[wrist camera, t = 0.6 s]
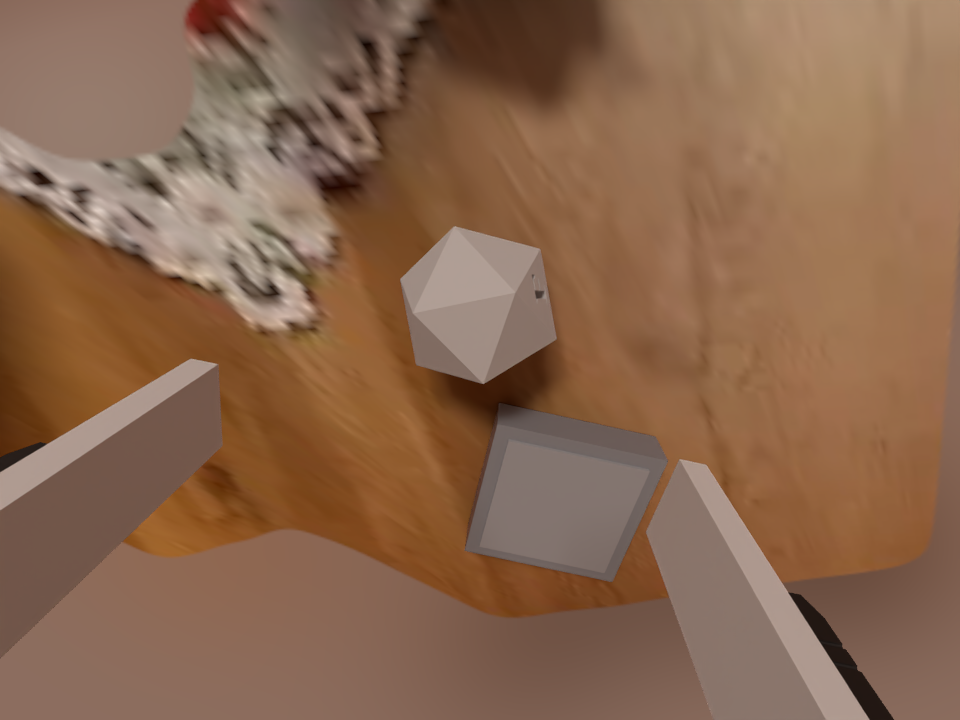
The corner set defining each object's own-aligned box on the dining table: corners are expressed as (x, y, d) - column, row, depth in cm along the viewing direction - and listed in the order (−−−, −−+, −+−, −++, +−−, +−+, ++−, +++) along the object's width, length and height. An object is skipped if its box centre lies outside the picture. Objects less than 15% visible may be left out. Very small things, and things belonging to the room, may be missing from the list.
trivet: (468, 523, 38) (464, 553, 35) (498, 402, 33) (497, 425, 30) (605, 552, 38) (612, 584, 35) (655, 436, 33) (669, 463, 30)
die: (516, 368, 33) (604, 362, 24) (397, 393, 29) (445, 397, 20) (495, 253, 33) (575, 202, 23) (373, 265, 29) (410, 210, 20)
